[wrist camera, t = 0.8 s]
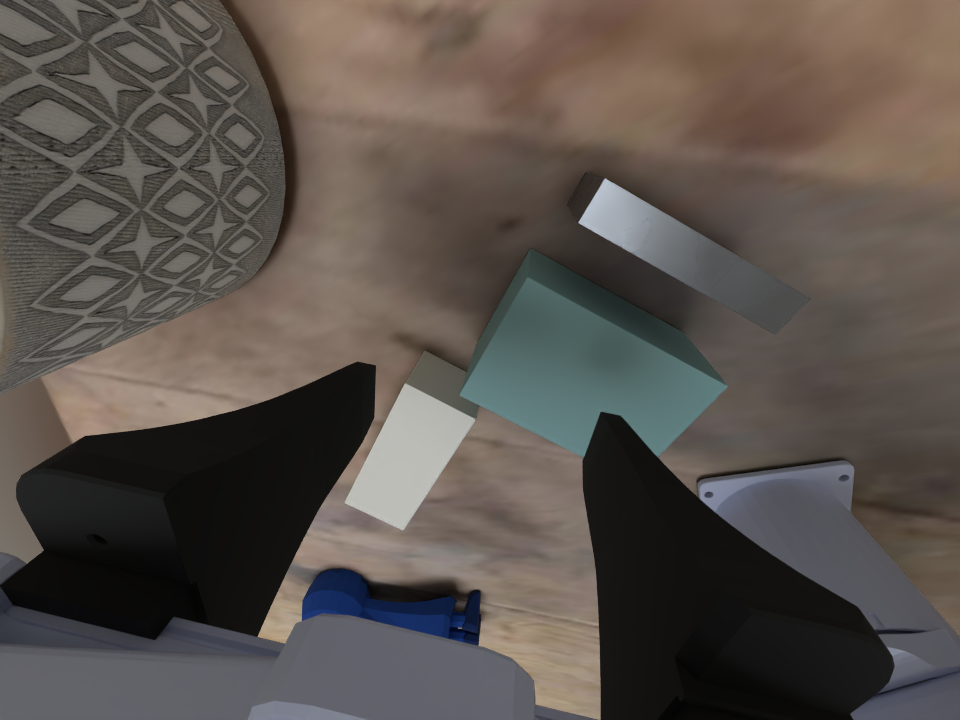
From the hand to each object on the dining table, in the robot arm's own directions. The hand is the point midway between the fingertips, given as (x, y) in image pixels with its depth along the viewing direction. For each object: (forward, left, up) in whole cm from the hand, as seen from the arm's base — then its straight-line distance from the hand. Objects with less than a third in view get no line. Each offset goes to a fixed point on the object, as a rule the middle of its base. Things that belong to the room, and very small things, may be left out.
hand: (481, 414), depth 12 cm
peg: (-6, +7, -10) cm, 14 cm away
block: (-2, -3, -10) cm, 11 cm away
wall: (+2, -8, -10) cm, 12 cm away
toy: (-22, +17, -10) cm, 30 cm away
